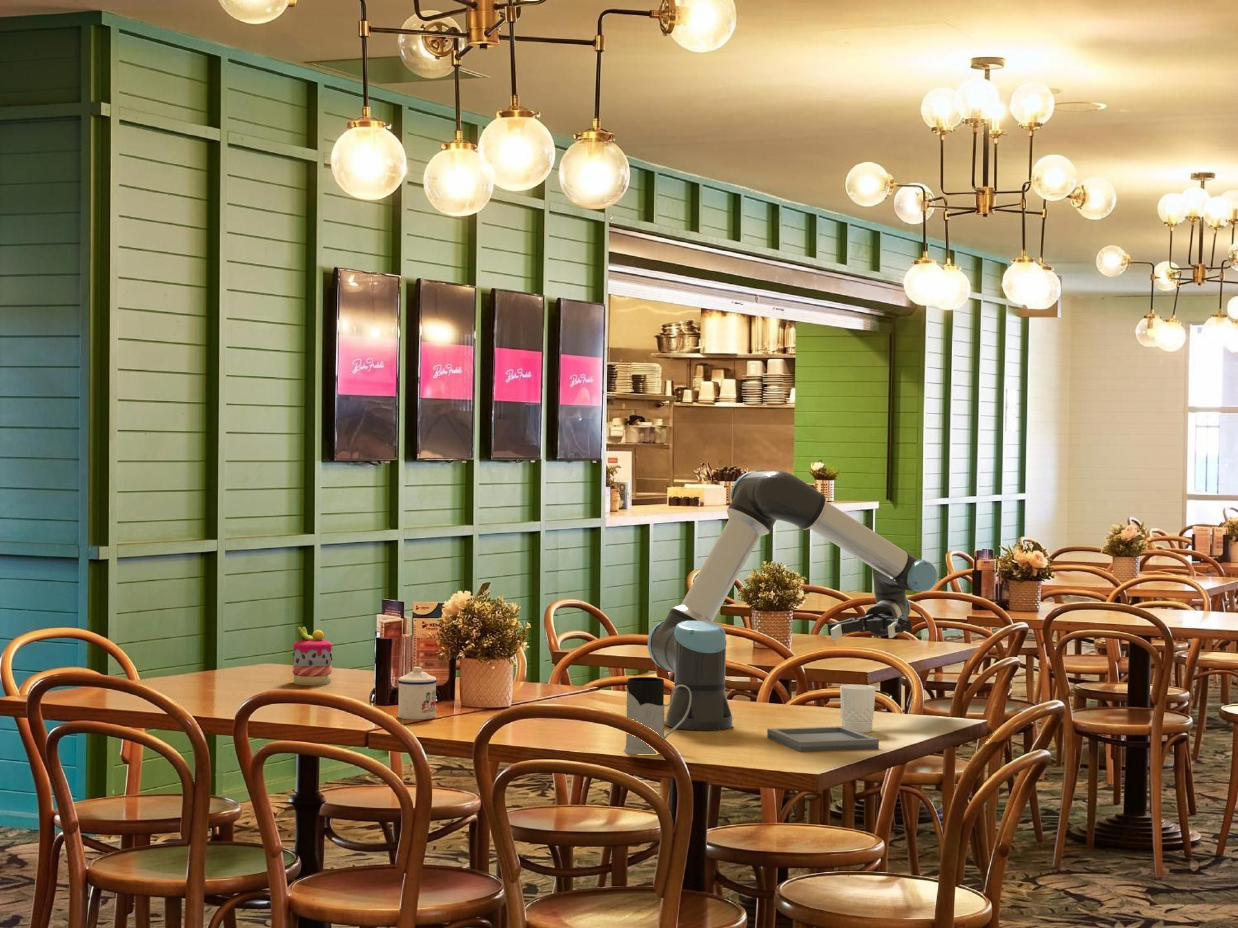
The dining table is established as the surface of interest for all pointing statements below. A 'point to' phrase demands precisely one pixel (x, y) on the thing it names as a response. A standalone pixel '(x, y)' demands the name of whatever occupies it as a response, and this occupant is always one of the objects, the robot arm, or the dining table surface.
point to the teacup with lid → (417, 695)
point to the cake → (312, 659)
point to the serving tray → (822, 738)
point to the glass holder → (648, 710)
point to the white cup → (857, 707)
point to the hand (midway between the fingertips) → (861, 633)
